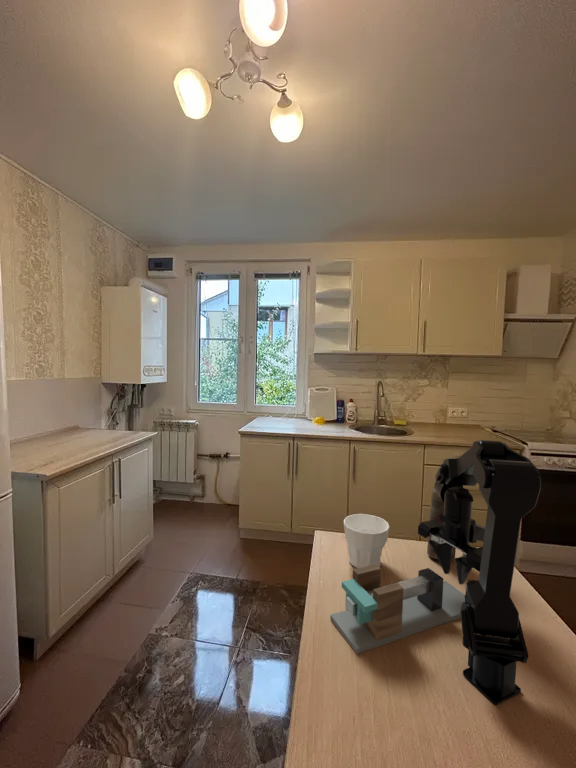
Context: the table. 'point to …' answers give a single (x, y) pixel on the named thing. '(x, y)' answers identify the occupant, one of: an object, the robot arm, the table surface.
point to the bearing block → (381, 602)
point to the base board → (413, 620)
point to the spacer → (360, 600)
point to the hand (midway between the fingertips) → (453, 578)
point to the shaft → (415, 591)
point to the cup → (365, 538)
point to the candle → (435, 513)
